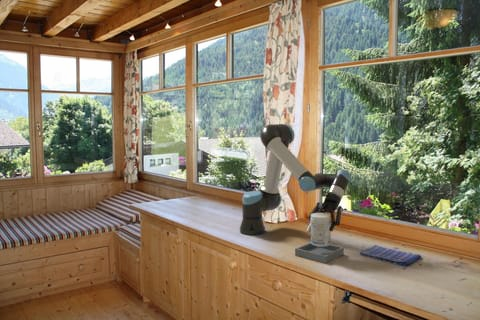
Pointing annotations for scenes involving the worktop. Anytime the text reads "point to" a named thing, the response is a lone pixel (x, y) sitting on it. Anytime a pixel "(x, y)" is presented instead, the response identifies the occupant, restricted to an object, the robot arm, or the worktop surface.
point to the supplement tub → (320, 229)
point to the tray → (319, 252)
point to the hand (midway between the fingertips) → (317, 234)
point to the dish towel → (390, 255)
